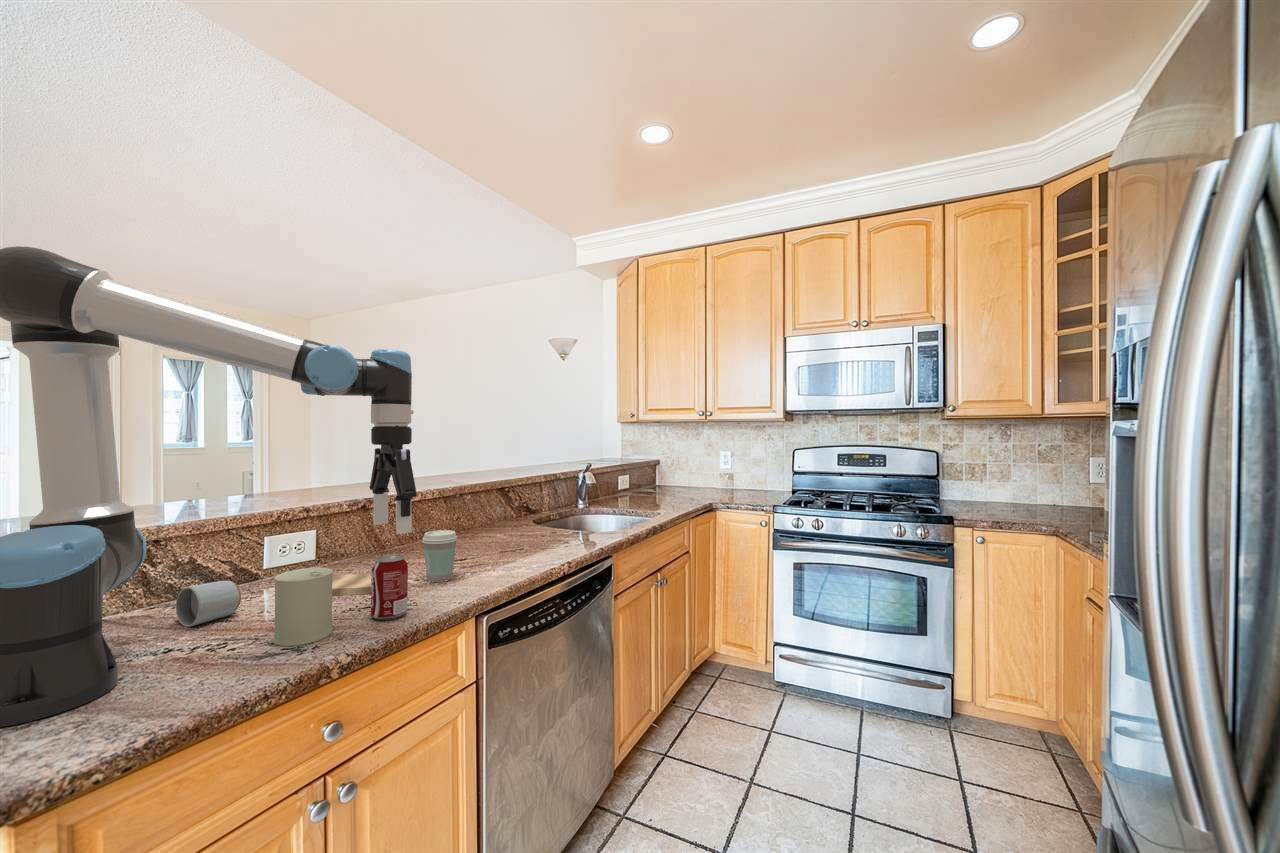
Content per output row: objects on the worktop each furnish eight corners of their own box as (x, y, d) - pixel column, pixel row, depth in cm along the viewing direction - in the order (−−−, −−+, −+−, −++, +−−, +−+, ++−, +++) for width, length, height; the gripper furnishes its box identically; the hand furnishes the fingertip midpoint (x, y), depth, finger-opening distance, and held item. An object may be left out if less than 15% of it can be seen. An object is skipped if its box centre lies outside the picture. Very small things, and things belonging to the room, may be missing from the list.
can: (303, 648, 89) (304, 579, 89) (259, 643, 91) (260, 576, 91) (344, 628, 98) (345, 566, 98) (303, 625, 100) (304, 563, 100)
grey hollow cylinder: (244, 615, 105) (244, 577, 105) (198, 629, 97) (198, 589, 98) (210, 610, 109) (211, 573, 109) (163, 623, 101) (164, 584, 101)
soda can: (414, 614, 106) (414, 556, 106) (382, 624, 100) (383, 563, 101) (395, 608, 110) (395, 552, 110) (363, 617, 104) (364, 558, 104)
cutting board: (304, 597, 117) (305, 590, 117) (326, 582, 128) (326, 575, 128) (380, 593, 120) (380, 586, 120) (394, 578, 132) (394, 572, 132)
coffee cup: (433, 574, 136) (433, 529, 136) (463, 575, 135) (463, 530, 135) (414, 583, 128) (415, 535, 128) (446, 585, 127) (447, 536, 127)
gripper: (434, 424, 99) (434, 534, 99) (390, 426, 117) (390, 518, 117) (393, 424, 94) (393, 540, 94) (353, 426, 112) (353, 522, 112)
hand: (391, 528), depth 105 cm, fingers open, 13 cm apart
